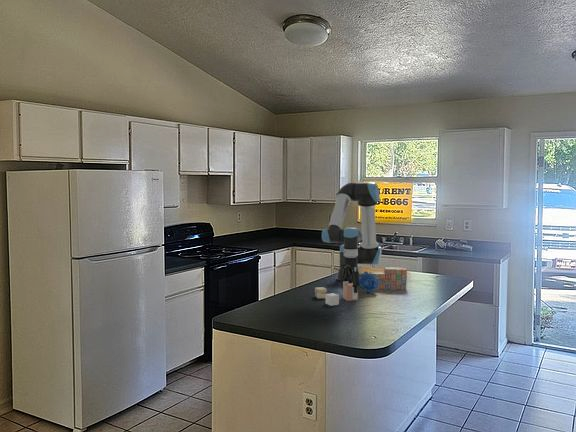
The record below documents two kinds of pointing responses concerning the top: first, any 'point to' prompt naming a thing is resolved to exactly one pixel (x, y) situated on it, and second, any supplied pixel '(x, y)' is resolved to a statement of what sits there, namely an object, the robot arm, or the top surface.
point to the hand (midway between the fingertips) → (350, 295)
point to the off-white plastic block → (332, 299)
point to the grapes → (368, 282)
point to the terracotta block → (347, 292)
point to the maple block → (320, 292)
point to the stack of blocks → (391, 278)
